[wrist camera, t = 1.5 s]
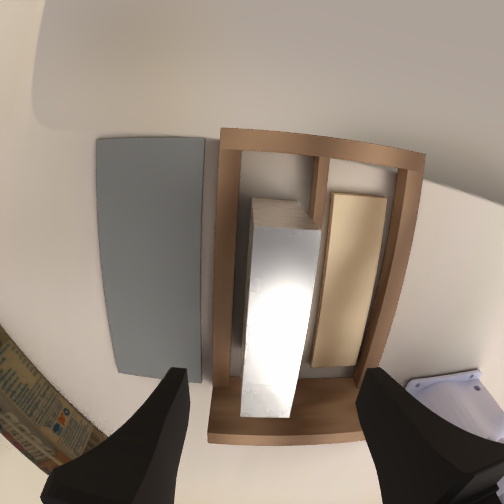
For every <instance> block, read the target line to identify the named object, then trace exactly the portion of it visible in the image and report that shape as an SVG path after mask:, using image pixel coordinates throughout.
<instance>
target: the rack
mask: <svg viewBox="0 0 504 504" xmlns="http://www.w3.org/2000/svg"><path fill="white" fill-rule="evenodd" d="M242 150H250V151H264V152H277V153H288V154H299V155H309V156H315V158H314V169H313V179H312V189H311V199H310V208H309V216H310V217H311V218H312V219H313V220H314V222H315V223H316V224H317V225H318V227H319V228H320V229H321V230H322V224H323V216H324V208H325V199H326V191H327V181H328V172H329V161H330V158H334V159H342V160H350V161H357V162H364V163H370V164H377V165H383V166H389V167H395V168H398V174H397V182H396V189H395V196H394V203H393V210H392V216H391V222H390V228H389V234H388V239H387V244H386V250H385V255H384V260H383V265H382V269H381V274H380V278H379V283H378V287H377V292H376V296H375V300H374V304H373V308H372V312H371V316H370V320H369V324H368V327H367V331H366V335H365V338H364V342H363V345H362V349H361V352H360V355H359V359H358V362H357V365H356V369H355V372H354V375H353V377H352V378H323V379H297V383H296V388H295V393H294V397H293V402H292V407H291V411H290V416H289V418H272V417H240V405H241V377H230V355H231V332H232V311H233V290H234V270H235V252H236V234H237V216H238V199H239V183H240V167H241V152H242ZM425 156H426V154H423V153H418V152H413V151H408V150H403V149H399V148H394V147H388V146H383V145H377V144H371V143H366V142H360V141H353V140H347V139H340V138H333V137H325V136H317V135H308V134H299V133H290V132H280V131H268V130H253V129H238V128H221V132H220V148H219V166H218V185H217V206H216V230H215V260H214V302H213V391H212V399H211V407H210V415H209V423H208V431H207V436H208V443H215V444H230V445H255V446H293V445H317V444H332V443H344V442H354V441H363V440H366V439H365V436H364V434H363V431H362V428H361V425H360V422H359V418H358V414H357V409H356V404H355V401H356V399H357V396H358V393H359V390H360V387H361V384H362V381H363V379H364V376H365V372H366V369H367V368H376V367H378V365H379V362H380V359H381V357H382V354H383V351H384V347H385V344H386V341H387V338H388V335H389V332H390V328H391V325H392V322H393V318H394V315H395V311H396V308H397V304H398V300H399V297H400V293H401V289H402V285H403V281H404V277H405V273H406V269H407V264H408V260H409V255H410V251H411V246H412V241H413V236H414V231H415V225H416V220H417V214H418V208H419V202H420V195H421V188H422V181H423V172H424V164H425Z"/></svg>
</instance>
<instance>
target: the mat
mask: <svg viewBox="0 0 504 504" xmlns="http://www.w3.org/2000/svg"><path fill="white" fill-rule="evenodd" d="M204 155H205V138H185V137H152V138H116V139H97V150H96V188H97V216H98V233H99V246H100V257H101V267H102V277H103V285H104V293H105V300H106V307H107V314H108V320H109V326H110V332H111V338H112V343H113V349H114V354H115V359H116V363H117V368H118V373H124V374H130V375H136V376H143V377H150V378H158V379H163V378H164V376H165V375H166V373H167V371H168V370H169V369H170V368H171V367H178V368H187V374H188V382H193V383H202V364H201V233H202V200H203V175H204Z"/></svg>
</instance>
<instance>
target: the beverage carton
mask: <svg viewBox="0 0 504 504" xmlns="http://www.w3.org/2000/svg"><path fill="white" fill-rule="evenodd" d="M0 433H1V434H2V435H3V436H4V437H5V438H6V439H7V440H8V441H9V442H10V443H11V444H13V445H14V446H15V447H16V448H17V449H18V450H19V451H20V452H21V453H22V454H24V455H25V456H26V457H27V458H28V459H29V460H31V461H32V462H33V463H34V464H35V465H36V466H38V467H39V468H40V469H41V470H42V471H44V472H45V473H46V474H47V475H50V474H51V472H52V470H53V469H54V468H56V467H58V466H61V465H63V464H65V463H67V462H69V461H71V460H73V459H75V458H77V457H79V456H81V455H83V454H84V453H86V452H87V451H89V450H91V449H92V448H94V447H96V446H97V445H99V444H100V443H101V442H103V441H104V440H105V439H107V437H106V436H105V435H104V434H103V433H101V432H100V431H99V430H98V429H97V428H96V427H94V426H93V425H92V424H91V423H90V422H89V421H88V420H87V419H85V418H84V417H83V416H82V415H81V414H80V413H79V412H78V411H77V410H76V409H75V408H74V407H73V406H72V405H71V404H70V403H69V402H68V401H67V400H66V399H65V398H64V397H63V396H62V395H61V394H60V393H59V392H58V391H57V390H56V389H55V388H54V387H53V386H52V385H51V384H50V383H49V382H48V381H47V380H46V379H45V377H44V376H43V375H42V374H41V373H40V372H39V371H38V370H37V369H36V367H35V366H34V365H33V364H32V363H31V362H30V361H29V359H28V358H27V357H26V356H25V355H24V354H23V352H22V351H21V350H20V349H19V347H18V346H17V345H16V344H15V343H14V341H13V340H12V339H11V338H10V337H9V335H8V334H7V333H6V332H5V330H4V329H3V328H2V326H1V325H0Z"/></svg>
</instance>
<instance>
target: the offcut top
mask: <svg viewBox="0 0 504 504" xmlns="http://www.w3.org/2000/svg"><path fill="white" fill-rule="evenodd" d="M386 205H387V198H385V197H381V196H370V195H358V194H346V193H332V192H331V203H330V214H329V225H328V234H327V244H326V253H325V262H324V270H323V278H322V286H321V293H320V301H319V308H318V315H317V322H316V328H315V335H314V341H313V347H312V353H311V359H310V365H311V368H321V367H340V366H354V365H356V361H357V357H358V354H359V350H360V346H361V342H362V338H363V334H364V329H365V325H366V321H367V316H368V312H369V307H370V302H371V297H372V293H373V287H374V282H375V277H376V272H377V266H378V260H379V254H380V248H381V242H382V235H383V228H384V221H385V213H386Z"/></svg>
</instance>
